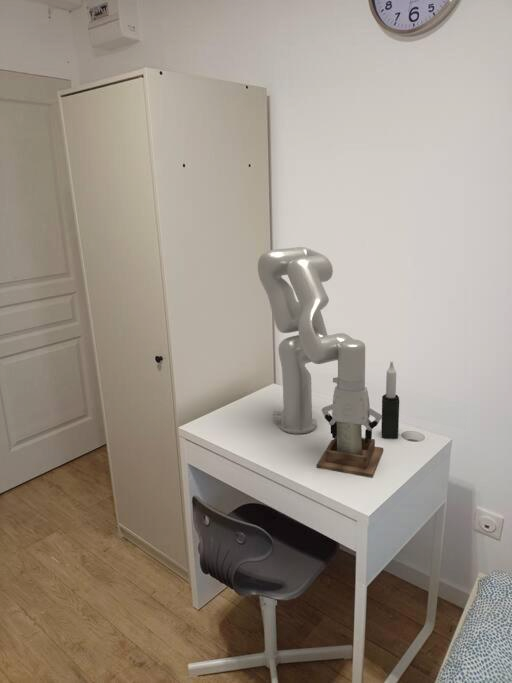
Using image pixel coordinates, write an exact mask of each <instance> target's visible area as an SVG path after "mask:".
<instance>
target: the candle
mask: <svg viewBox="0 0 512 683" xmlns="http://www.w3.org/2000/svg"><path fill="white" fill-rule="evenodd" d="M385 378H386V382H385V383H386V384H385V394H383V395H382V396H381V397H382V398H381V415H382V418H381V431H380V434H381V438H382V439H387V440H388V439H389V440H397V439H399V424H400V423H399V422H400V420H399V419H400V397H399V395H398V394H397V392H396V390H397V370H396V369H395V366H394V362H393V361H392V360H391V361H390V365H389V368H388V369H387V370H386V377H385Z"/></svg>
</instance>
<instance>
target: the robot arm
mask: <svg viewBox="0 0 512 683" xmlns="http://www.w3.org/2000/svg"><path fill="white" fill-rule="evenodd" d="M333 272H334V270H333V264H332V263H331V260H330V259H329V258H328V257H327V256H325V255H324V254H322V253H320V252H318V251H317V252H316V251H315V250H312V249H311V248H308V247H304V246H301V247H300V246H298V247H289V248H277V249H271V250H267V251H265V252H264V253H262V254H261V255H260V257H259V259H258V261H257V273H258V277H259V280H260V283H261V285H262V287H263V288H264V291H265V293H266V296H267V299H268V302H269V304H270V305H269V306H270V309H271V312H272V316H273V319H274V324H275V326H276V328H277V330H278V331H279V332H280V333H282V334H291V333H296V332H298V334H297V335H292V336H289V337H286V338H284V339H283V340H281V342H279V344H278V347H277V348H278V349H277V351H278V356H279V360H280V366H281V375H282V396H283V397H282V398H283V399H282V401H283V402H282V403H283V410H282V411H279V410H273V411H272V416H273V419H274V420H279V428H280V429H281V430H282V431H284V432H285V433H288V434H294V435H299V434H300V435H301V434H306V433H307V434H308V433H311V432H313V431H315V430H316V429H317V425H318V422H317V420H316V419H314V418H313V406H312V405H313V404H312V399H313V398H312V392H313V391H312V375H311V373H310V371H309V370H308V369H307V367H306V364H310V363H313V364H315V365H322V364H326V363H330V362H335V361H337V377H333V378H332V383H335V384H336V386H335V387H334V390H333V391H334V392H333V396H332V397H333V398H332V404H329V405H326V406H324V407H322V409H321V410H320V411H321V413H322V414H323V416H324V419H325V420H326V421H327V422H328V424H329V426H330V434H331V438H332V439H334V438H335V437H336V435H337V422H342V423H349V422H350V423H353V424H357V425H361V426H364V427H365V432H364V436H365V437H364V438H365V442H366V443H368V442H369V440H371V439H373V438H372V437H373V432H372V431H373V429H374V428H375V427H377V426H378V424H379V423H380V422H381V421H382V413H379V412H378V411H375V410H374V409H372V408H371V407H370V400H369V399H370V398H369V392H368V388H367V387H366V344H365V342H363V341H362V340H359V339H354V338H352V336H350V335H348V334H346V333H343V332H339V333H334V334H328V332H327V328H326V325H325V321H324V318H323V314H322V310H323V309H324V308H326V306H327V305H328V303H329V301H330V300H329V295H328V294H327V292H326V290H325V287H324V285H323V283H324V282H327V281H329V280H331V279H332V277H333ZM282 276H288V279H289V281H290V284H289V283H288V281H287V280H286V279H284V278H283V277H282ZM295 295H296V297H295ZM296 298H297V299H296ZM329 411H330V412H331V414H330V413H329ZM370 416H372V418H374V420H373V421H371V419H370Z"/></svg>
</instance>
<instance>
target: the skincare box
mask: <svg viewBox="0 0 512 683" xmlns="http://www.w3.org/2000/svg"><path fill="white" fill-rule="evenodd" d="M336 422H337V421H336ZM362 432H363V431H362V425H357V424H353V423H350V422H349V423H342V422H337V452H343V453H349V454H355V455H362V438H363V437H362V436H363V435H362Z"/></svg>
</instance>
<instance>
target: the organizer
mask: <svg viewBox="0 0 512 683" xmlns="http://www.w3.org/2000/svg"><path fill="white" fill-rule="evenodd" d="M375 444H376V439H374V438H371V440H369V442H368V443H366V442H365V437H362V455H355V454H349V453H343V452H337V435H336V437H335V438H332V439H331V440H330V442H329V444H328V445H327V446H326V449H325V450H324V452H323V453H322V455H321V457H320V458H319V460H318V462H317V463H316V468H318V469H322V470H329V471H334V472H340V473H345V474H351V475H356V476H362V477H368V478H374V475H375V473H376V471H377V468H378V465H379V463H380V460H381V458H382V455H383V452H384V447H379V446H376V445H375Z"/></svg>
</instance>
